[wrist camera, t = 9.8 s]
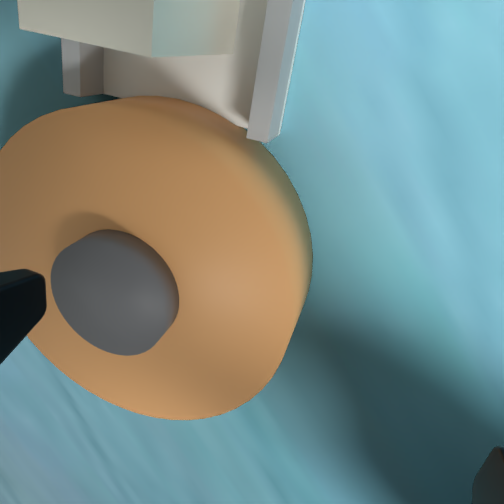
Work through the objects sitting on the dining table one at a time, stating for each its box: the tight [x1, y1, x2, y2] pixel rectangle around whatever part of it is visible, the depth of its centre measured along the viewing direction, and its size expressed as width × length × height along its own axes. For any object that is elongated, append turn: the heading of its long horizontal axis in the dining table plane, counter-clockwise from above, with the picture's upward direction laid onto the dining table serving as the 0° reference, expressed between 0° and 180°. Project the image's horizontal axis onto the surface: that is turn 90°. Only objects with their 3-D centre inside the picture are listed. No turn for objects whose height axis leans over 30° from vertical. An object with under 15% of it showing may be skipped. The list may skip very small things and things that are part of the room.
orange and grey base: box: [0, 0, 313, 420], centre depth 16 cm, size 14×25×5 cm, turn 170°
